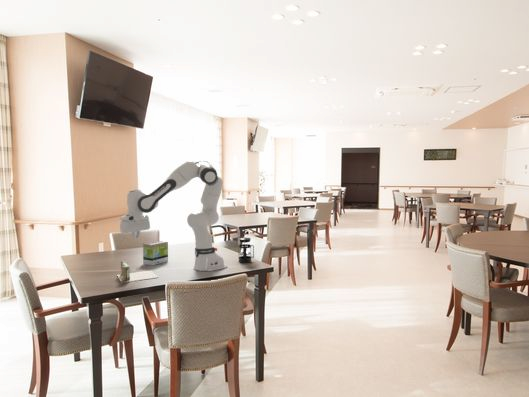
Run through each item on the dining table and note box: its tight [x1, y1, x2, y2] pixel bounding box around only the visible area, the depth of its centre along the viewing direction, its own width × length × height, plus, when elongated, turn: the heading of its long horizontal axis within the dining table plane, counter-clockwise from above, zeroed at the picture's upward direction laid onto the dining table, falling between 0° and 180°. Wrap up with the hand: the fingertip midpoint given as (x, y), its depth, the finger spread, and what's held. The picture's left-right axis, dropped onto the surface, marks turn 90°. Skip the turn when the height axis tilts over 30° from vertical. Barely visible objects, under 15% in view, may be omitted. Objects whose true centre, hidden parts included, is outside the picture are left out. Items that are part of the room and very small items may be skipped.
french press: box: [238, 229, 255, 264], centre depth 265 cm, size 12×9×23 cm
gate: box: [122, 261, 131, 281], centre depth 223 cm, size 14×2×8 cm, turn 31°
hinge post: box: [118, 260, 126, 276], centre depth 231 cm, size 4×4×9 cm
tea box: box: [142, 240, 169, 266], centre depth 265 cm, size 15×10×15 cm, turn 151°
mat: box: [116, 270, 159, 283], centre depth 229 cm, size 21×19×1 cm
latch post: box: [119, 266, 130, 284], centre depth 218 cm, size 4×4×9 cm
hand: (136, 238), depth 227 cm, fingers closed
